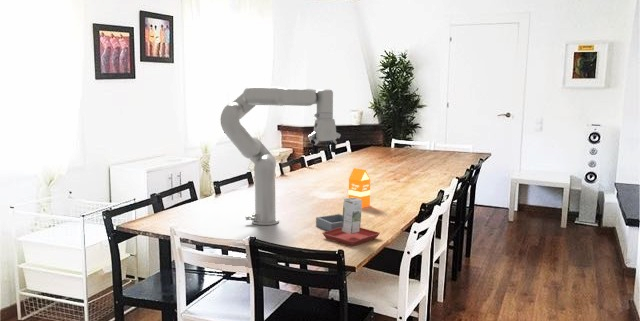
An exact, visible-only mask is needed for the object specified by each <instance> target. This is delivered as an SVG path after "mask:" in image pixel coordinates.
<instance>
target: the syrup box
mask: <svg viewBox="0 0 640 321" xmlns="http://www.w3.org/2000/svg"><path fill="white" fill-rule="evenodd" d="M342 205H343V208H342V215H343V218H342V231H343V232H346V233H349V234H354V233H358V232H360V228H361V222H362V208H363V207H362V200H361V199H358V198H349V197H347V198H343V204H342Z"/></svg>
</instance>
